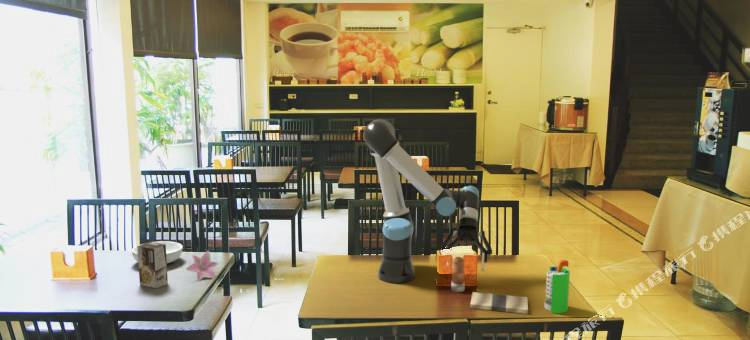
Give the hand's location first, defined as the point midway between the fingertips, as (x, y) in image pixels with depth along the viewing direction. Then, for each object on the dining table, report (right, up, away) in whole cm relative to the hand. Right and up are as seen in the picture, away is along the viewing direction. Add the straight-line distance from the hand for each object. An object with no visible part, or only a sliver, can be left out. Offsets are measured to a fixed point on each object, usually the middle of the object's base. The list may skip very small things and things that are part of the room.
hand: (465, 268), depth 225 cm
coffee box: (-123, -7, +2) cm, 123 cm away
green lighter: (+30, -11, -18) cm, 37 cm away
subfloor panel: (+10, -11, -16) cm, 21 cm away
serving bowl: (-131, -2, +28) cm, 134 cm away
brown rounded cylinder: (-3, -8, -1) cm, 9 cm away
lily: (-106, -6, +10) cm, 106 cm away
